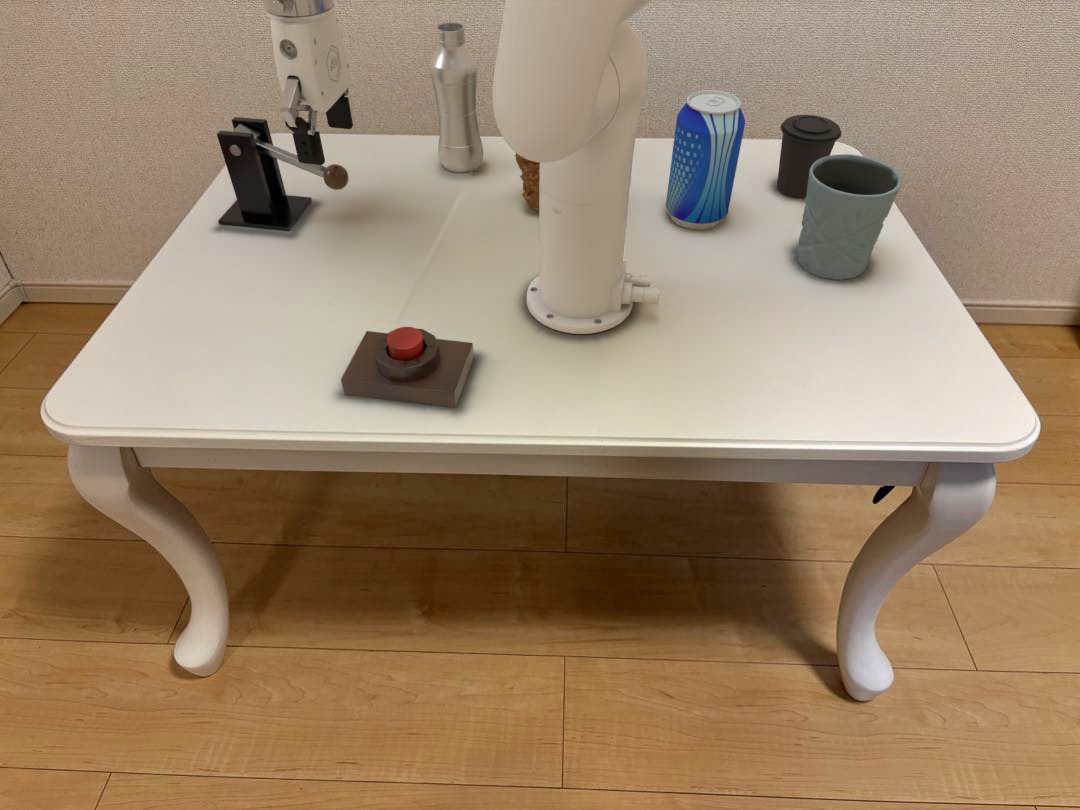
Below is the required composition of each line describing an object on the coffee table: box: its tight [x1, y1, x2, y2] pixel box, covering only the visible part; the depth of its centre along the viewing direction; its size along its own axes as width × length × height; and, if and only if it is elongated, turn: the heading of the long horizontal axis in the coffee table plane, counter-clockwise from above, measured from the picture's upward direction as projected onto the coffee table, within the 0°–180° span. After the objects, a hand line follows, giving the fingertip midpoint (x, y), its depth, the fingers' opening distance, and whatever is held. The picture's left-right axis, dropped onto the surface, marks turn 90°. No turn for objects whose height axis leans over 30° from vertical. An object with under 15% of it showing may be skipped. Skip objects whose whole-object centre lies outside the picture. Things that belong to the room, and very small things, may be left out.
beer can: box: [665, 89, 746, 230], centre depth 99 cm, size 8×8×16 cm
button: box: [387, 326, 424, 361], centre depth 79 cm, size 4×4×2 cm
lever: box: [231, 124, 350, 191], centre depth 98 cm, size 15×3×3 cm, turn 80°
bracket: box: [216, 116, 313, 232], centre depth 101 cm, size 10×8×13 cm
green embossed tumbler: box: [796, 153, 903, 281], centre depth 93 cm, size 10×10×12 cm
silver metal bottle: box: [428, 22, 484, 174], centre depth 108 cm, size 6×7×20 cm
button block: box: [340, 327, 475, 409], centre depth 80 cm, size 12×8×4 cm, turn 80°
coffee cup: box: [776, 114, 842, 199], centre depth 106 cm, size 8×8×10 cm
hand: (327, 144), depth 96 cm, fingers open, 9 cm apart
